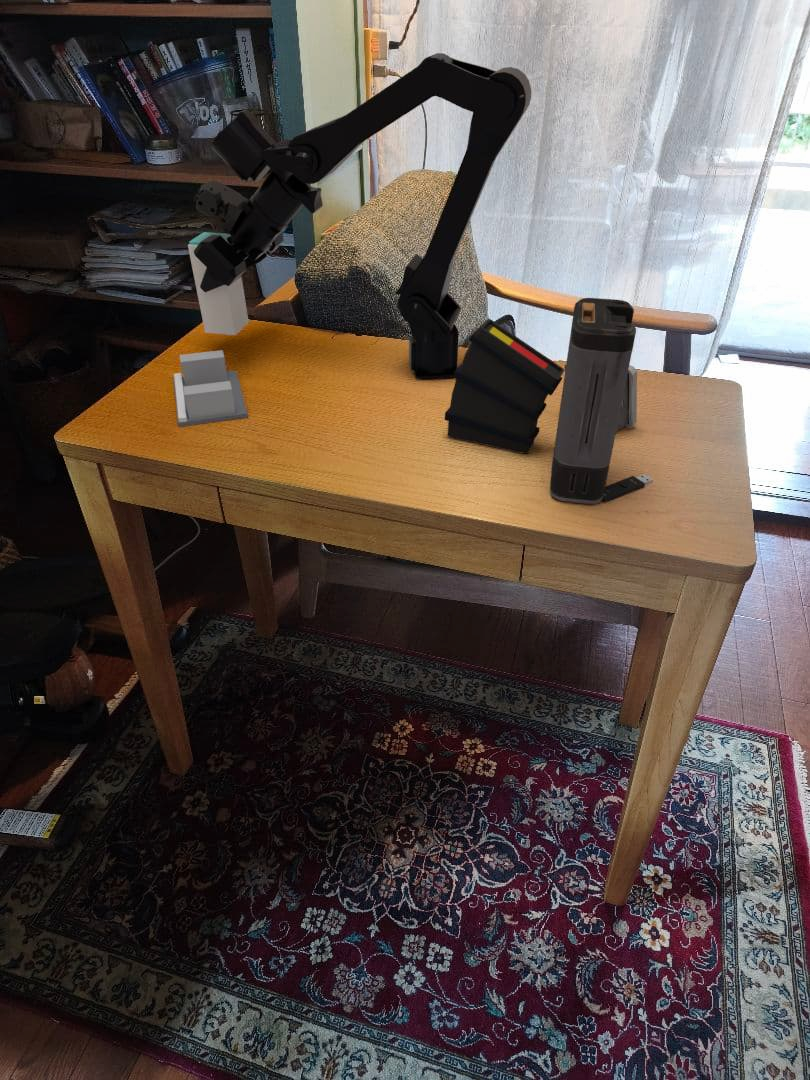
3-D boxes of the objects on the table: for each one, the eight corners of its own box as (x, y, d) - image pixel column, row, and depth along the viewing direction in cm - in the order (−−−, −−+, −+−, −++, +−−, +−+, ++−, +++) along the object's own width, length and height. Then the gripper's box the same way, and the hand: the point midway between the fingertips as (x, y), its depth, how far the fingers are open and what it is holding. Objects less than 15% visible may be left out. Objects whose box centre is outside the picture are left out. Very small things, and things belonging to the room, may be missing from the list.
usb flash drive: (641, 477, 86) (643, 470, 86) (654, 485, 85) (655, 478, 84) (591, 497, 83) (593, 489, 82) (603, 505, 82) (605, 498, 81)
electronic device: (603, 507, 81) (638, 333, 69) (548, 501, 82) (573, 328, 70) (602, 464, 88) (633, 299, 76) (552, 458, 89) (575, 295, 77)
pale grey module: (248, 322, 115) (234, 233, 106) (235, 335, 111) (219, 244, 102) (219, 319, 116) (203, 231, 107) (205, 332, 112) (187, 242, 103)
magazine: (433, 409, 96) (487, 315, 85) (516, 466, 95) (581, 378, 85) (422, 421, 93) (476, 326, 83) (507, 480, 93) (573, 392, 82)
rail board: (236, 374, 108) (232, 347, 106) (248, 417, 97) (243, 389, 95) (174, 381, 106) (168, 354, 104) (178, 426, 95) (172, 398, 93)
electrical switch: (636, 428, 95) (646, 363, 89) (610, 443, 93) (618, 378, 87) (581, 402, 101) (587, 339, 95) (555, 416, 99) (559, 353, 93)
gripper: (254, 148, 105) (197, 224, 114) (194, 175, 91) (135, 260, 100) (310, 209, 109) (251, 279, 117) (261, 245, 94) (198, 321, 103)
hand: (210, 283), depth 109 cm, fingers closed on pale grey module, 5 cm apart
